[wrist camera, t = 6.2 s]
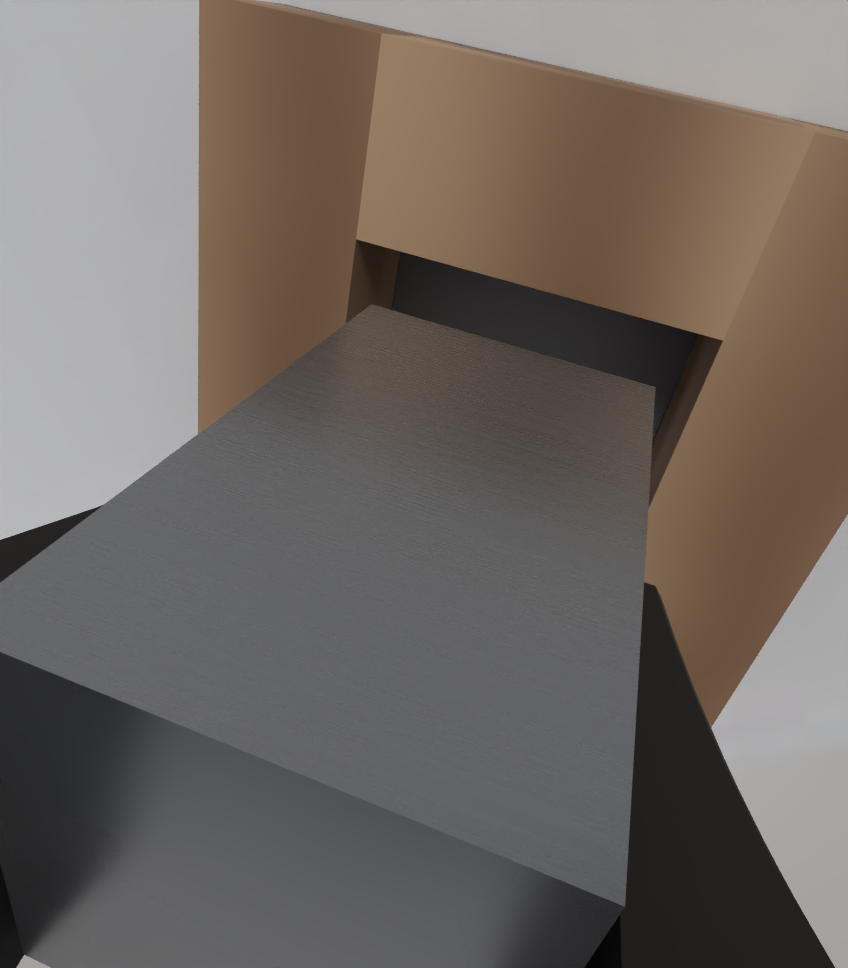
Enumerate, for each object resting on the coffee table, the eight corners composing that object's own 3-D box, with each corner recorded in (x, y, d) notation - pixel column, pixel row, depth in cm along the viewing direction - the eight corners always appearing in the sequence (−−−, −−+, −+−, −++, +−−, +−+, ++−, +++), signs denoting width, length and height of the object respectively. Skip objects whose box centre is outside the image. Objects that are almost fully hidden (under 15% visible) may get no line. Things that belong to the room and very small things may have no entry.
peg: (337, 530, 12) (24, 953, 6) (371, 303, 10) (-58, 626, 4) (566, 610, 11) (455, 1161, 6) (655, 386, 9) (624, 906, 3)
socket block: (252, 522, 18) (197, 582, 16) (282, 4, 12) (200, -8, 10) (686, 674, 16) (688, 762, 14) (979, 161, 10) (1057, 187, 8)
